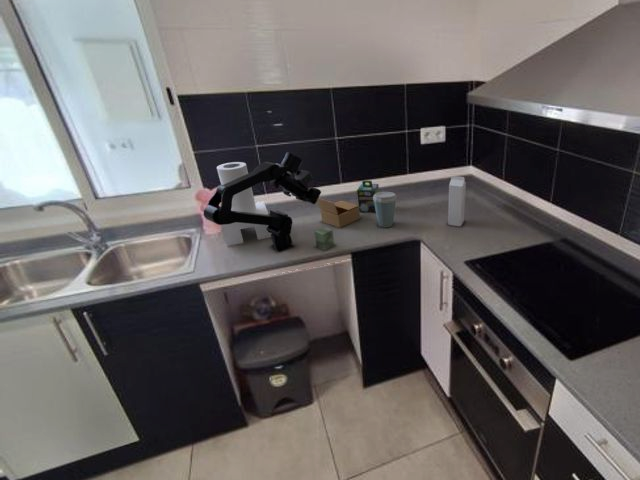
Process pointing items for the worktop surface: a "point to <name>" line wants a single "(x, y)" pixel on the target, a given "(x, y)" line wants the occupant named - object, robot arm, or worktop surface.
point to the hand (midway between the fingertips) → (315, 201)
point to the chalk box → (367, 196)
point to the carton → (341, 214)
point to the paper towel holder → (241, 204)
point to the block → (324, 238)
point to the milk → (456, 201)
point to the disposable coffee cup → (385, 208)
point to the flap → (327, 206)
